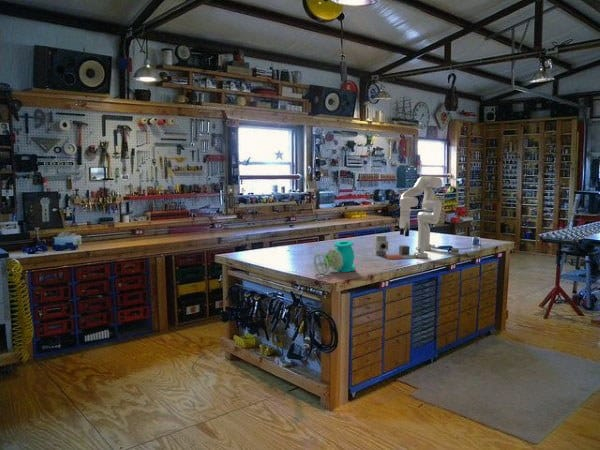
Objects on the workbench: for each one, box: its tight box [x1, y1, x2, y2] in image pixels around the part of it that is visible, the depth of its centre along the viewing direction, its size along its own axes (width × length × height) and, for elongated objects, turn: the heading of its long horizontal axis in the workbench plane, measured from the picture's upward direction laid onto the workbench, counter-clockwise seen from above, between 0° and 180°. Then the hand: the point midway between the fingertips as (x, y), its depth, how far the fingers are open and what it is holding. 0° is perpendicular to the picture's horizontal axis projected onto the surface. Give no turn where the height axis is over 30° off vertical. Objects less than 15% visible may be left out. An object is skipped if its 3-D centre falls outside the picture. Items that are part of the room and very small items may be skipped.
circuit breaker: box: [372, 234, 389, 256], centre depth 389 cm, size 8×14×15 cm, turn 11°
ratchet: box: [384, 248, 429, 260], centre depth 376 cm, size 33×10×7 cm, turn 101°
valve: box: [313, 240, 356, 276], centre depth 325 cm, size 14×18×30 cm
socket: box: [398, 244, 410, 255], centre depth 390 cm, size 6×6×7 cm
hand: (404, 235), depth 388 cm, fingers open, 9 cm apart
